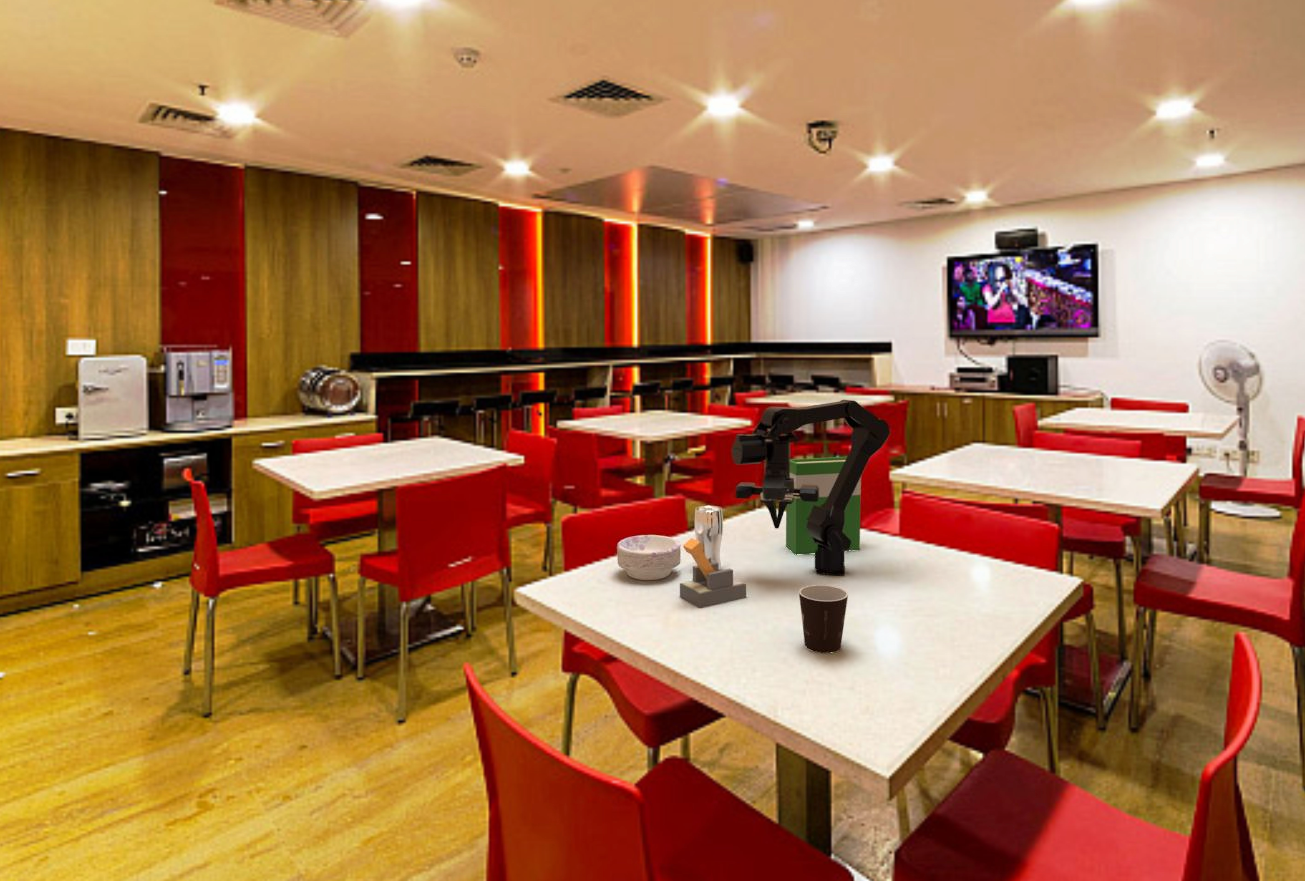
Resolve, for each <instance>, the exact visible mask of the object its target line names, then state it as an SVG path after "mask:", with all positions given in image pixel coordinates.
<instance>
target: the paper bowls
mask: <svg viewBox="0 0 1305 881" xmlns="http://www.w3.org/2000/svg"><path fill="white" fill-rule="evenodd" d="M616 550H617V551H616V552H617V557H616V558H617V565H618V566H619V567H620V568H621V569H624V570H625V571H626V573H627V575H628V576H629V577H631V578H632V579H635V580H640V581H656V580H657V581H658V580H661V579H665V578H667V577H668V576H670V574H671V573H672V571H673V569H674V568H677V567H678V566H679V565H680V564H681V560H682V559H681V550H682V549H681V543H680V541H679V540H678V539H676V538H673V537H670V536H666V535H656V534H646V535H645V534H641V535H635V536H629V537H626V538H624V539H621V540H620V541H619V542H618V543H617V545H616Z"/></svg>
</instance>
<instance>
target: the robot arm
mask: <svg viewBox="0 0 1305 881" xmlns="http://www.w3.org/2000/svg"><path fill="white" fill-rule="evenodd" d="M839 419H840V420H841V419H843V420H844V422H845V423H846V425H847V426H849V427H850V428H851V429H852V431H851V435H850V449H849V452H848V454H847V456H846V457H847V458H846V460H845V462H844V465H843V467H842V469H841V471H840V473H839V475H838V477H837V479H836V481H835V483H834V485H833V487H832V490H831V492H830V494H829V496H828V498H827V500H826V502H825V503H824V504H822V505H821V506H820V507H819V506H816V505H814V506H813V508H812V511H811V514H810V515H809V517H808V518H807V519H806V520H808V523H807V530H808V533H809V534H810V536H812V539H813V541H814V543H817V544H818V547H817V550H815V554H814V569H815V570H816V574H817V575H829V576H830V575H832V576H845V573H846V572H845V571H846V566H845V555H846V552H845V550H849V548H850V545H851V540H850V539H849V538H848V537H847V536H846V535H845V534H844V533H843V532H842V531H843V528H844V525H845V509H846V507H847V505H848V503H849V501H850V498H851V496H852V494H853V492H854V490H855V488H856V486H857V484H858V482H859V480H860V478H861V479H862V475H863V473H864V471H865V470H866V467H867V466H868V462H869V461H870V458H871V457H872V456H874V454H876V453H877V452H878V451H879V450H880V449H882V447H883V446H884V445H885V443H886V442H887V441H888V438H889V437H890V433H891V429H890V427H889V426H890V425H889V424H888V422H887V421H886V420H885V419H882V418H878V416H876V415H875V414H873V412H871V411H869V410H867V409H866V408H865V407H864V406H862V405H861V404H860V403H858V402H857V401H856V400H853V399H852V400H850V399H841V400H839V401H833V402H827V403H821V404H815V405H808V406H803V407H788V406H787V407H786V406H769V407H767V408H765V409H764V411H763V413H762V415H761V419H760V421H759V422H758V424H757V425H756V427H755V428H754V430H753V431H752V432H751V434H741V433H740V434H738V433H737V434H736V435H735V440H734V441H733V443H732V447H731V457H732V460H733V462H734V464H735V465H737V466H739V465H753V464H755V465H756V464H762V463H763V461H764V475H763V479H762V485H761V486H756V483H755V482H743V481H742V482H740V483H739V484H738V485H737V486H736V487H735V491H734V492H735V493H734V494H735V496H734V498H735V499H744V500H745V499H748V500H749V498H750V497H752V495H753V496H756V495H757V496H760V500H759V502H760V503H761V504H764V505H765V507H766V508H767V510H768V511H769V512H768V513H769V515H770V518H771V520H772V524H773V526H774V529H776V530H777V529H779V528H780V525H781V522H782V519H783V516H784V512H786V506H787V504H792V503H793V500H794V496H796V497H800V498H801V499H802V500H803V501H810V502H816V501H818V499H819V487H818V486H817V485H802V486H801V488H800V489H799V488H794V478H790V459H791V443H798V442H799V441H800V439H799V438H798V436H796V435H795V434H794V432H795V431H797V430H799V429H800V428H802V427H803V426H806V425H811V424H815V423H822V422H828V421H835V420H839ZM777 501H778V508H777ZM777 509H778V510H777Z"/></svg>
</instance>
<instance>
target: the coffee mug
mask: <svg viewBox="0 0 1305 881" xmlns="http://www.w3.org/2000/svg"><path fill="white" fill-rule="evenodd" d="M798 595H799V596H798V597H799V603H800V604H799V606H800V614H801V624H802V632H803V640H804V646H806V647H807V648H806V647H805V648H806V649H807V650H809V649H810V650H809V651H811V650H812V651H811V652H813V653H814V652H815V653H819V652H820V654H832V653H831V652H833V653H836V652H838V651H840V650H841V647H842V640H843V634H844V633H843V632H844V626H845V619H846V612H847V604H848V596H849V593H848V592H847V591H846V589H843V588H841V587H837V586H833V585H827V584H814V585H813V584H812V585H807V586H803V587H801V588H800V589H799V590H798Z"/></svg>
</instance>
